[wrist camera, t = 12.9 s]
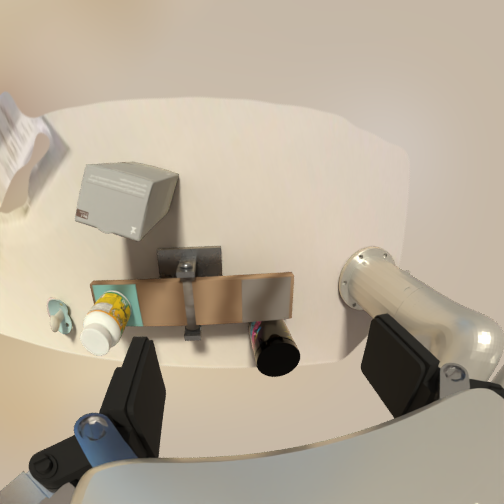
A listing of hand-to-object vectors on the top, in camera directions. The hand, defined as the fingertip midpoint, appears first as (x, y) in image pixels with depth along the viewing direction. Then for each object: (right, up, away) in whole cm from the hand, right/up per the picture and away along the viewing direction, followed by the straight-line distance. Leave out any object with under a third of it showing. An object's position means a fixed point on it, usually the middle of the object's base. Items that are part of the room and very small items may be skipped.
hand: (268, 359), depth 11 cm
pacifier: (-38, -7, +32) cm, 50 cm away
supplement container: (+2, -9, +38) cm, 39 cm away
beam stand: (-10, -1, +34) cm, 35 cm away
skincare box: (-17, +14, +28) cm, 36 cm away
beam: (-10, -3, +28) cm, 30 cm away
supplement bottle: (-21, -3, +26) cm, 33 cm away
